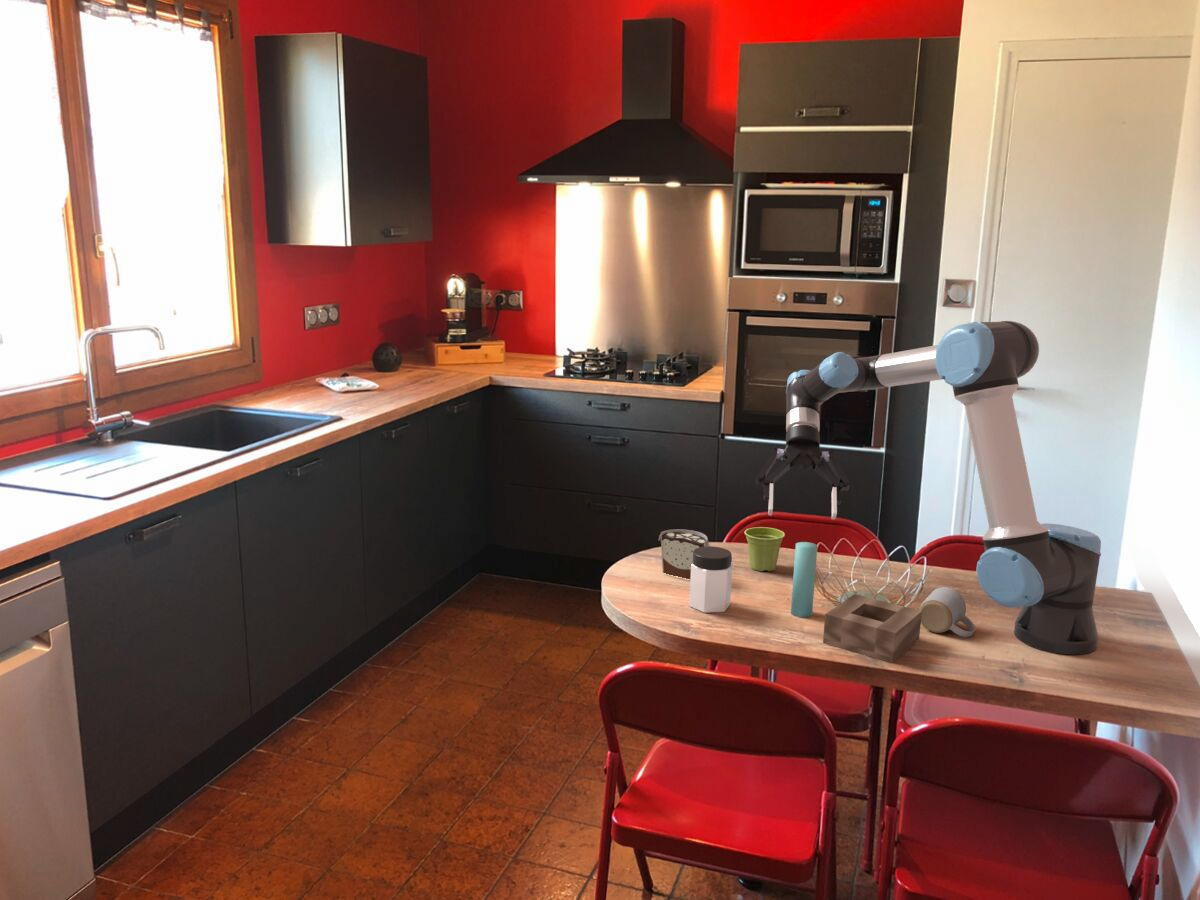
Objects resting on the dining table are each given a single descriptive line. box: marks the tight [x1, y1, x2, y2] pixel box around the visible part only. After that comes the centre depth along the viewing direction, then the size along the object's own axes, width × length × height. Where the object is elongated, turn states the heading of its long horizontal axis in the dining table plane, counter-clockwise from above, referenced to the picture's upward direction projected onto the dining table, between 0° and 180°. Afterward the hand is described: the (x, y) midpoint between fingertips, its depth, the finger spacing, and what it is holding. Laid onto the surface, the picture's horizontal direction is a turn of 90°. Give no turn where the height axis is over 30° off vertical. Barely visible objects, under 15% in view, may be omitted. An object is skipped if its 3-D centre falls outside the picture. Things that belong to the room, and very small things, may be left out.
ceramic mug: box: [918, 586, 976, 638], centre depth 200 cm, size 11×8×8 cm
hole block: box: [822, 593, 922, 664], centre depth 194 cm, size 14×14×6 cm
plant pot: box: [744, 526, 786, 572], centre depth 234 cm, size 9×9×9 cm
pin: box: [790, 541, 818, 619], centre depth 206 cm, size 4×4×15 cm
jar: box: [688, 545, 733, 614], centre depth 209 cm, size 9×8×12 cm
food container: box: [658, 528, 710, 579], centre depth 228 cm, size 12×6×10 cm, turn 58°
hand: (802, 514), depth 214 cm, fingers open, 13 cm apart
